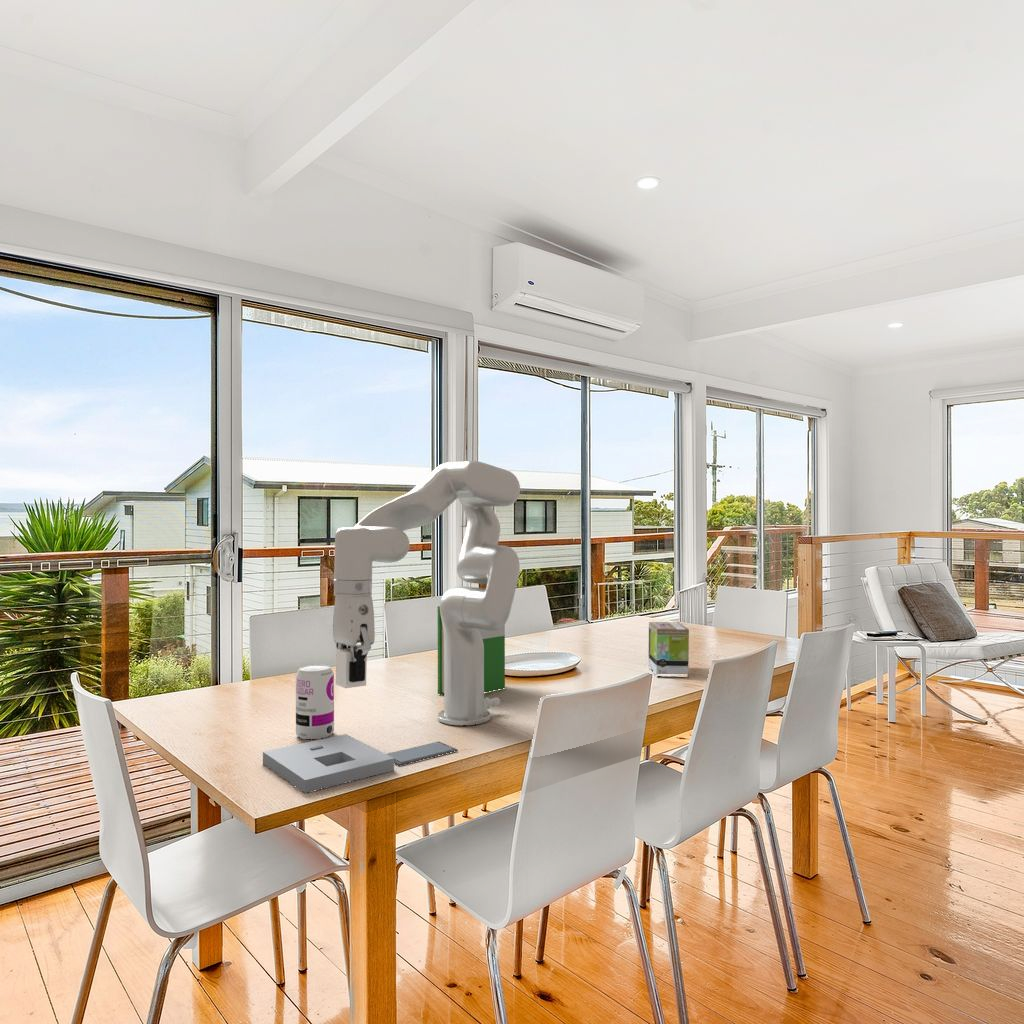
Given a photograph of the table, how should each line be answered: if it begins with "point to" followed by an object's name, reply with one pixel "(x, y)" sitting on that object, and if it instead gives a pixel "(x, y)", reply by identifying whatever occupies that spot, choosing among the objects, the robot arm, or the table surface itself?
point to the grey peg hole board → (327, 762)
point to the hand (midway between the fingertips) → (351, 678)
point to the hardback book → (492, 657)
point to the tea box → (668, 648)
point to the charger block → (346, 669)
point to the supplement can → (314, 702)
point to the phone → (420, 753)
